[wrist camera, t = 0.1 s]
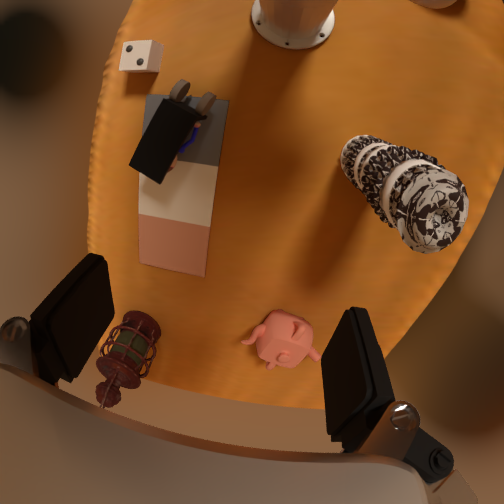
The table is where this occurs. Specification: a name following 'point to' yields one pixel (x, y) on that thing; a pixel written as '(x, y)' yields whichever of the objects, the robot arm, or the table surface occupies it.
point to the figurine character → (169, 132)
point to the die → (141, 56)
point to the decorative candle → (407, 191)
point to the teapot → (283, 340)
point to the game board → (182, 196)
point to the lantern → (126, 356)
